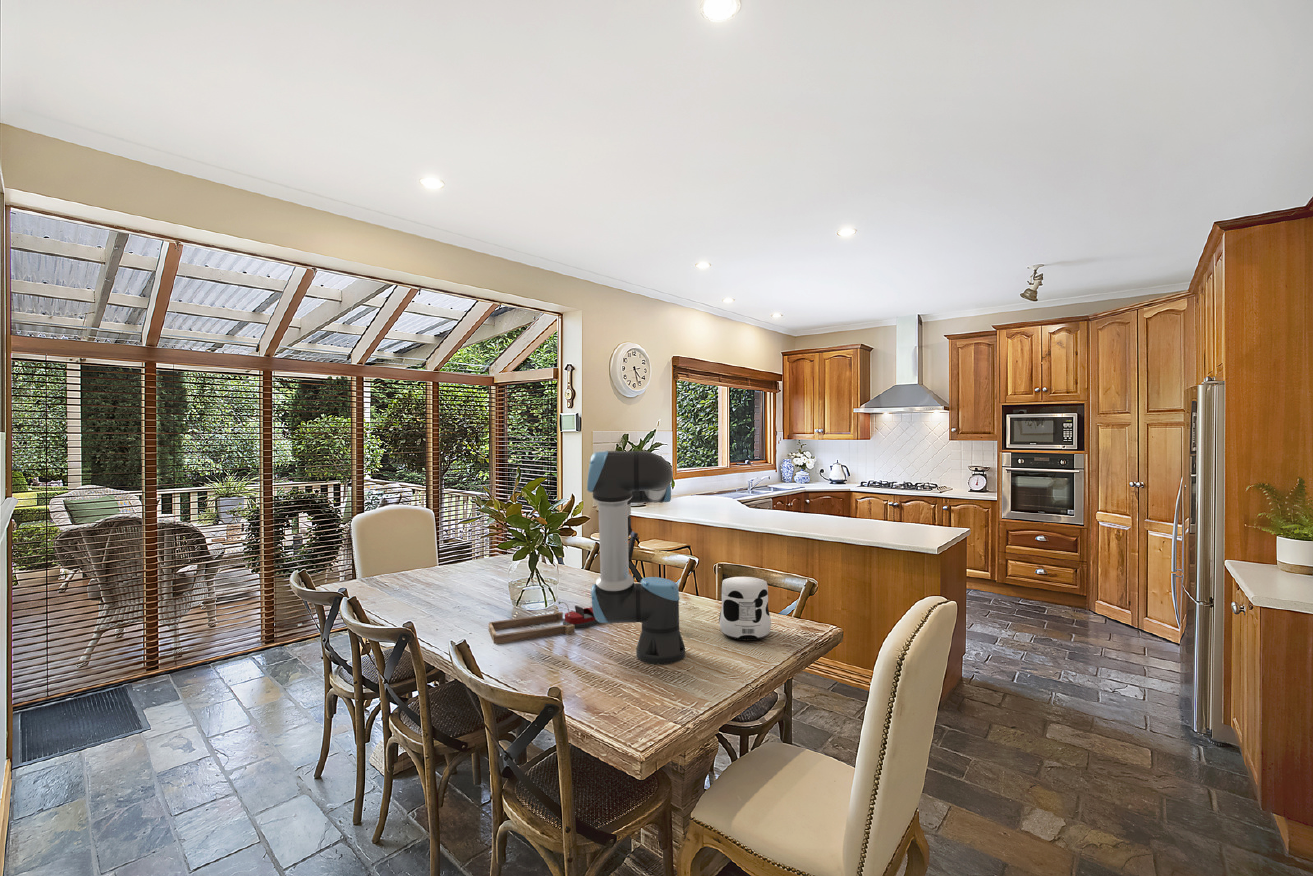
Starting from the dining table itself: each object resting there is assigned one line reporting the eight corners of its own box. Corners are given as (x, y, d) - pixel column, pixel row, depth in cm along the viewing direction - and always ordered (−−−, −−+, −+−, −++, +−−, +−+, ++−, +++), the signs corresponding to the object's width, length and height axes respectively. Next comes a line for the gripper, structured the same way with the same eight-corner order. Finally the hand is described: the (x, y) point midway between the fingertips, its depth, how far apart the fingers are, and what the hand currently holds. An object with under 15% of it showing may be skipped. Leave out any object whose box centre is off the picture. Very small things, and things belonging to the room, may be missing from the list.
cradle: (575, 633, 198) (575, 626, 198) (495, 646, 187) (495, 638, 187) (561, 617, 215) (561, 611, 215) (487, 628, 205) (487, 621, 205)
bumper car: (613, 621, 212) (613, 593, 212) (567, 634, 199) (566, 604, 199) (597, 614, 219) (597, 588, 219) (552, 627, 206) (551, 599, 206)
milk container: (745, 623, 206) (744, 573, 206) (782, 636, 192) (781, 583, 192) (708, 633, 196) (708, 581, 196) (745, 648, 182) (744, 592, 182)
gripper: (633, 513, 221) (634, 574, 221) (601, 515, 216) (601, 578, 216) (640, 515, 214) (641, 578, 214) (607, 518, 209) (608, 582, 209)
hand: (621, 578), depth 215 cm, fingers closed
